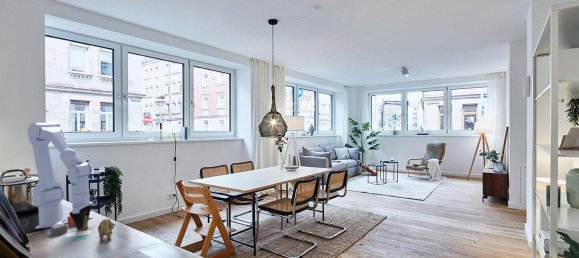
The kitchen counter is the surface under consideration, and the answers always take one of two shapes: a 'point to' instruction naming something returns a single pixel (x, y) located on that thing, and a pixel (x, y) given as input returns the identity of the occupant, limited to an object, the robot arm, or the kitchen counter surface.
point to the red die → (70, 221)
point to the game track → (77, 234)
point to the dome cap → (58, 225)
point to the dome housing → (58, 230)
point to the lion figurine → (105, 229)
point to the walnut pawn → (84, 224)
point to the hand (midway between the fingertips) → (82, 225)
